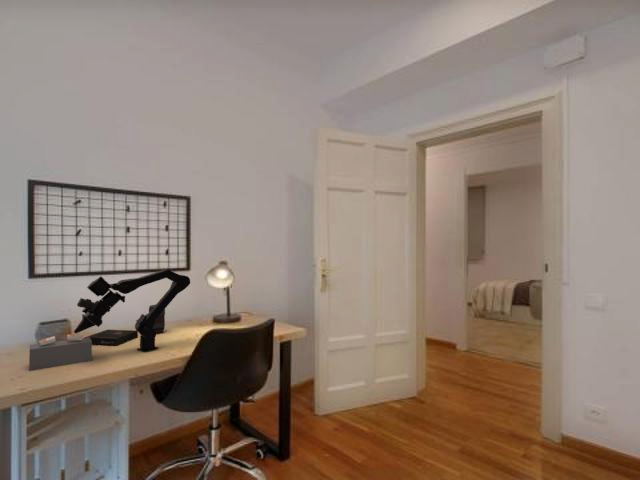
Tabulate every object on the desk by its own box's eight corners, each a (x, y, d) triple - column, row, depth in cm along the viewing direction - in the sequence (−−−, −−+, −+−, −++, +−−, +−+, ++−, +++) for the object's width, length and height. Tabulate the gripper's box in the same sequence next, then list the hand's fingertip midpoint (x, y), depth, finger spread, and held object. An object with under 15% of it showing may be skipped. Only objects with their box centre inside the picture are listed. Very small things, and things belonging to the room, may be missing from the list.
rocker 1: (55, 338, 146) (54, 335, 146) (55, 340, 143) (55, 337, 142) (40, 343, 143) (39, 340, 143) (40, 345, 140) (39, 342, 139)
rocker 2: (81, 338, 151) (82, 335, 151) (82, 340, 148) (83, 337, 148) (67, 337, 148) (68, 334, 148) (67, 339, 145) (68, 335, 145)
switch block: (89, 356, 155) (89, 337, 155) (91, 360, 148) (91, 341, 148) (29, 365, 142) (29, 344, 142) (29, 370, 136) (29, 349, 136)
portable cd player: (138, 338, 187) (138, 330, 187) (116, 347, 170) (116, 338, 170) (108, 336, 189) (108, 329, 189) (83, 345, 172) (84, 337, 172)
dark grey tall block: (146, 332, 196) (146, 305, 197) (161, 330, 202) (161, 303, 202) (151, 335, 191) (152, 307, 191) (167, 333, 196) (167, 305, 197)
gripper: (88, 288, 159) (56, 316, 152) (93, 293, 144) (59, 324, 137) (108, 305, 164) (78, 332, 157) (115, 311, 149) (83, 342, 142)
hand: (74, 332), depth 148 cm, fingers closed
